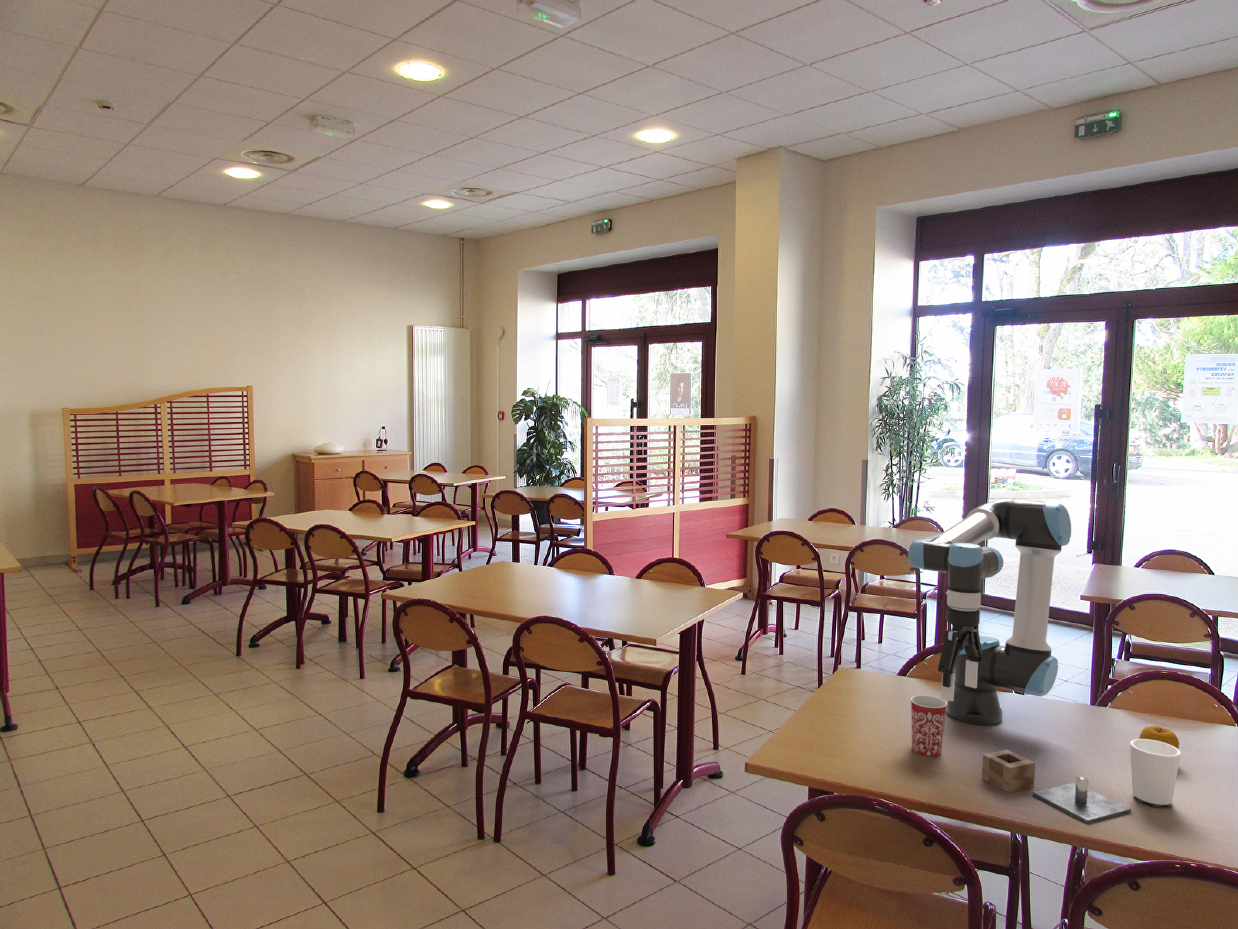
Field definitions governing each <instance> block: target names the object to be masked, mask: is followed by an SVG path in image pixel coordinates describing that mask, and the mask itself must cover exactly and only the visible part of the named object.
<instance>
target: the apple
mask: <svg viewBox="0 0 1238 929" xmlns="http://www.w3.org/2000/svg"><path fill="white" fill-rule="evenodd" d="M1138 739H1150V740H1156V741H1160V742H1164V743H1167V744H1169V745H1172V746H1174V747H1176V748H1177V749H1178V750H1180V749H1179V747H1180V740H1179V738H1178V736H1177V735H1176V734H1175V732H1173V731H1172V730H1170V729H1168V728H1165V727H1161V726H1156V725H1153V726H1151V725H1150V726H1146V727H1144V728H1143V729H1142V730H1141V731H1140V734H1139V737H1138Z"/></svg>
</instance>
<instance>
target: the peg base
mask: <svg viewBox="0 0 1238 929" xmlns="http://www.w3.org/2000/svg"><path fill="white" fill-rule="evenodd" d="M1032 797H1035V798H1037V799H1038V800H1041V801H1042V802H1044V803H1046V804H1048V805H1050V806H1052V807H1054V808H1055V809H1058V810H1060V811H1062V812H1064V813H1066V814H1067V813H1068V815H1069V814H1070V816H1071V815H1072V817H1073V818H1076V819H1077V820H1080V821H1081V822H1083V823H1085V824H1088V825H1089V824H1092V823H1096V822H1100V821H1104V820H1107V819H1111V818H1114V817H1115V818H1116V817H1118V816H1119V817H1120V816H1123V815H1126V814H1129V813H1132V808H1130V807H1128V806H1126V805H1124V804H1122V803H1120V802H1117V801H1115V800H1114V799H1111V798H1109V797H1107V796H1105V795H1102V794H1101V793H1098V792H1096V791H1094V790H1092V789H1091V788H1089V779H1088V777H1087V776H1082V775H1077V776H1076V777H1075V781H1074V782H1070V783H1065V784H1062V785H1057V786H1053V787H1050V788H1049V787H1048V788H1045V789H1041V790H1035V791H1032Z"/></svg>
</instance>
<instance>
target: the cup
mask: <svg viewBox="0 0 1238 929" xmlns="http://www.w3.org/2000/svg"><path fill="white" fill-rule="evenodd" d="M1129 751H1130V752H1129V753H1130V767H1131V769H1130V770H1131V786H1132V788H1131V789H1132V794H1133V796H1134V798H1135V799H1136V800H1137V802H1139V803H1143V804H1144V803H1148V804H1150V805H1151V806H1152V807H1154V808H1160V807H1162V806H1165V807H1171V805H1172V803H1173V798H1174V794H1175V787H1176V782H1177V777H1178V771H1179V765H1180V760H1181V755H1182V752H1181V750H1180V749H1177V748H1176V747H1174V746H1172V745H1169V744H1167V743H1164V742H1160V741H1156V740H1150V739H1139V738H1135V739H1133V740H1130V742H1129Z"/></svg>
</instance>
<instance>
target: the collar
mask: <svg viewBox="0 0 1238 929" xmlns="http://www.w3.org/2000/svg"><path fill="white" fill-rule="evenodd" d="M981 769H982V771H981V773H982V774H981V779H982V780H984V781H986V782H988V783H990V784H992V785H993V786H996V787H998V788H999V789H1001V790H1003V791H1005V792H1008V793H1009V794H1010V793H1014V792H1018V791H1022V790H1027V789H1031V788H1034V787H1035V771H1036V770H1035V769H1036V762H1035V761H1032V760H1030V759H1028V758H1026V757H1024V756H1022V755H1019V754H1018V753H1016V752H1013V751H1011V750H1010V749H1004V750H997V751H994V752H993V751H992V752H989V753H984V754H982V767H981Z"/></svg>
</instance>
